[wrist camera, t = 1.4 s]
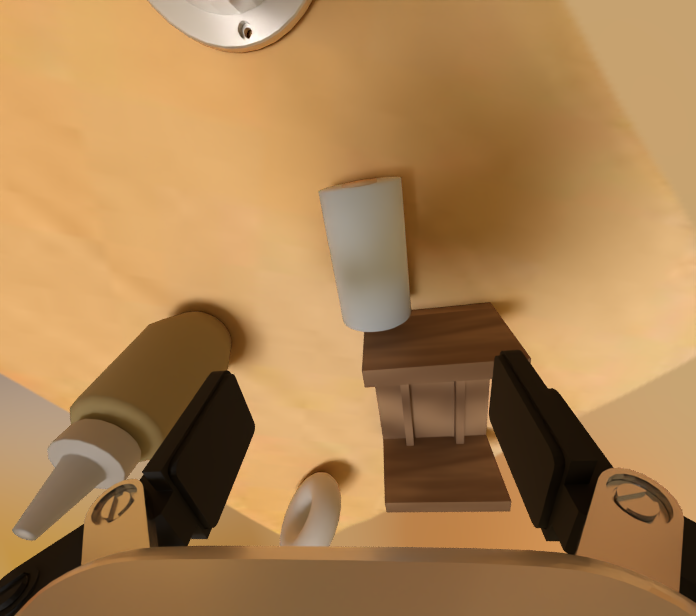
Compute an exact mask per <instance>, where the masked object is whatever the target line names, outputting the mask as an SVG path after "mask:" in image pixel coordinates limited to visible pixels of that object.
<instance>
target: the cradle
mask: <svg viewBox="0 0 696 616" xmlns="http://www.w3.org/2000/svg"><path fill="white" fill-rule="evenodd" d="M507 350H521V351H522V352H523V354H524V355H525V357H526V358H527V359H528V361H529V362H530V363H531V358H530V356H529V355H528V354H527V352H526V351H525V349H524V348H523V347H522V345H521V344H520V343H519V341H518V340H517V338H516V337H515V336H514V334H513V333H512V332H511V330H510V329H509V327H508V326H507V325H506V323H505V322H504V321H503V319H502V318H501V316H500V315H499V314H498V312H497V311H496V310H495V308H494V307H493V305H492V304H491V303H480V304H470V305H460V306H450V307H441V308H431V309H421V310H411V315H410V317H409V318H408V319H407V320H406V321H405V322H404V323H403V324H401V325H399V326H397V327H395V328H392V329H389V330H384V331H378V332H364V346H363V363H362V374H363V380H364V385H365V387H375V388H376V395H377V401H378V408H379V414H380V421H381V427H382V434H383V446H384V484H385V506H386V512H479V511H480V512H486V511H487V512H493V511H510V507H511V499H510V497H509V494H508V491H507V489H506V486H505V484H504V481H503V479H502V476H501V473H500V471H499V468H498V465H497V462H496V460H495V457H494V455H493V452H492V449H491V447H490V444H489V441H488V439H487V436H486V427H487V411H488V396H489V380H490V379H492V377H493V367H494V358H495V356H498V355H500V352H501V351H507Z"/></svg>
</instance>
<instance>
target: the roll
mask: <svg viewBox="0 0 696 616" xmlns="http://www.w3.org/2000/svg"><path fill="white" fill-rule="evenodd" d="M319 197H320V202H321V207H322V213H323V218H324V223H325V228H326V234H327V239H328V244H329V249H330V254H331V260H332V265H333V270H334V275H335V281H336V286H337V291H338V296H339V301H340V307H341V312H342V317H343V321H344V323H345V324H346V325H347V326H348V327H349V328H351V329H354V330H357V331H363V332H378V331H384V330H389V329H392V328H395V327H397V326H399V325H401V324H403V323H404V322H405V321H406V320H407V319H408V318H409V317H410V315H411V302H410V289H409V275H408V262H407V248H406V235H405V221H404V208H403V194H402V181H401V177H382V178H373V179H365V180H359V181H353V182H349V183H344V184H339V185H335V186H331V187H328V188H325V189H322V190H320V191H319Z"/></svg>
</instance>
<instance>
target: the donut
mask: <svg viewBox="0 0 696 616" xmlns="http://www.w3.org/2000/svg"><path fill="white" fill-rule="evenodd" d="M340 510H341V494H340V490H339V486H338V483H337V482H336V480H335V479H334V478H333V477H332V476H331V475H330V474H329V473H325V472H317V473H314V474H313V475H311V476H309V477H308V478H306V480H305V481H304V482H303V483H302V484H301V485H300V486H299V488H298V489H297V491H296V492H295V494H294V496H293V498H292V500H291V502H290V504H289V506H288V509H287V511H286V514H285V517H284V521H283V524H282V529H281V535H280V546H330V543H331V541H332V539H333V537H334V535H335V531H336V528H337V525H338V521H339V516H340Z"/></svg>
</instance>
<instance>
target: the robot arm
mask: <svg viewBox="0 0 696 616" xmlns="http://www.w3.org/2000/svg"><path fill="white" fill-rule="evenodd" d="M148 2H149V3H150V4H151V6H152V7H153V8H154V9H155V10H156V11H157V12H158V13H159V14H160V15H161V16H162V17H163V18H164V19H166V20H167V21H168V22H169V23H170V24H171V25H172V26H174V27H175V28H177V29H178V30H179V31H181V32H182V33H184V34H185V35H187V36H188V37H190V38H192V39H194V40H195V41H197V42H199V43H201V44H203V45H205V46H208V47H211V48H214V49H217V50H221V51H227V52H239V53H241V52H247V51H253V50H259V49H261V48H263V47H265V46H267V45H270V44H272V43H274V42H276V41H277V40H279V39H280V38H281V37H282V36H284V35H285V34H286V33H288V32H289V31H290V30H291V29H292V28H293V27H294V26H295V24H296V23H297V22H298V21H299V20H300V18H301V17H302V16H303V15H304V14H305V12H306V10H307V9H308V7H309V5H310V3H311V2H312V0H148ZM248 30H252V35H251V37H250V38H249V39H248V38H247V31H248ZM489 418H490V422H491V424H492V427H493V429H494V432H495V434H496V437H497V439H498V441H499V444H500V446H501V449H502V451H503V453H504V456H505V458H506V461H507V463H508V465H509V468H510V470H511V473H512V475H513V478H514V480H515V483H516V485H517V487H518V489H519V492H520V494H521V497H522V499H523V502H524V504H525V507H526V509H527V512H528V514H529V516H530V519H531V521H532V523H533V525H534V526H535V527H536V528H541V530H542V532H543V535H544V537H545V539H546V541H560V543H561V546H562V548H563V550H564V551H565V552H566V553H568V554H565V553H557V552H545V551H533V550H506V549H477V548H476V549H475V548H415V547H414V548H413V547H330V546H188V544H189V541H190V539H208V536H209V534H210V531H211V529H212V528H214V527H215V526H216V525H217V523H218V521H219V519H220V516H221V514H222V511H223V509H224V506H225V504H226V501H227V499H228V496H229V494H230V491H231V489H232V486H233V484H234V481H235V479H236V476H237V474H238V472H239V469H240V467H241V464H242V462H243V459H244V457H245V454H246V452H247V449H248V447H249V444H250V442H251V439H252V437H253V434H254V431H255V424H254V421H253V418H252V416H251V414H250V411H249V409H248V406H247V404H246V402H245V399H244V397H243V394H242V392H241V389H240V387H239V385H238V382H237V380H236V377H235V376H234V374H231V373H230V372H229V371H227V370H225V371H213V372H211V373H210V374H209V376H208V377H207V378H206V380H205V381H204V383H203V384H202V386H201V387H200V389H199V390H198V392H197V393H196V394H195V396H194V397H193V399H192V400H191V402H190V403H189V405H188V406H187V407H186V409H185V410H184V412H183V413H182V415H181V416H180V418H179V419H178V421H177V422H176V423H175V425H174V426H173V428H172V429H171V431H170V432H169V434H168V435H167V436H166V438H165V439H164V441H163V442H162V444H161V445H160V447H159V448H158V450H157V451H156V452H155V454H154V455H153V457H152V458H151V460H150V461H149V463H148V464H147V466H146V467H145V468H144V470H143V471H142V473H143V474H144V475H143V476H142V478H141V479H140V481H139V480H137V479H127V480H123V481H121V482H119V483H116V484H114V485H113V486H111V487H110V488H108V489H107V490H106V491H104V492H103V493H102V494H101V495H100V496H99V497H98V498H97V499H96V500H95V501H94V503H93V504H92V505H91V506H90V508H89V510H88V512H87V514H86V517H85V521H84V524H83V525H81V526H80V527H79V528H77V529H75V530H74V531H72V532H71V533H69V534H68V535H66V536H64V537H63V538H62V539H60V540H58V541H57V542H55V543H54V544H52V545H51V546H49V547H47V548H46V549H44V550H43V551H41V552H40V553H38V554H37V555H35V556H34V557H32V558H31V559H29V560H27V561H26V562H24V563H23V564H21V565H20V566H18V567H17V568H15V569H14V570H12V571H11V572H10V573H8V574H7V575H6V576H4V577H3V578H2V579H1V580H0V616H696V523H695V522H694V521H692V520H690V519H688V518H686V517H684V516H683V512H682V509H681V507H680V506H679V504H678V502H677V500H676V499H675V498H674V497H673V496H672V495H671V494H670V492H669V491H668V490H667V489H665V488H664V487H663V486H662V485H660V484H659V483H658V482H656V481H655V480H653V479H651V478H649V477H647V476H646V475H644V474H641V473H639V472H636V471H633V470H630V469H624V468H613V467H612V465H611V464H610V462H609V461H608V460H607V458H606V457H605V455H604V454H603V453H602V451H601V450H600V449H599V447H598V446H597V445H596V443H595V442H594V440H593V439H592V438H591V436H590V435H589V433H588V432H587V431H586V430H585V428H584V427H583V425H582V424H581V422H580V421H579V420H578V418H577V417H576V416H575V414H574V413H573V411H572V410H571V409H570V407H569V406H568V405H567V403H566V402H565V400H564V399H563V398H562V396H561V395H560V394H559V393H558V392H557V390H555V389H553V388H551V389H548V388H547V387H546V385H545V384H544V382H543V381H542V380H541V378H540V377H539V375H538V374H537V372H536V371H535V369H534V368H533V367H532V365H531V364H530V362H529V361H528V359H527V358H526V357H525V355H524V354H523V352H522V351H521V350H507V351H501V352H500V355H498V356H495V358H494V367H493V377H492V387H491V397H490V407H489Z"/></svg>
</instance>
